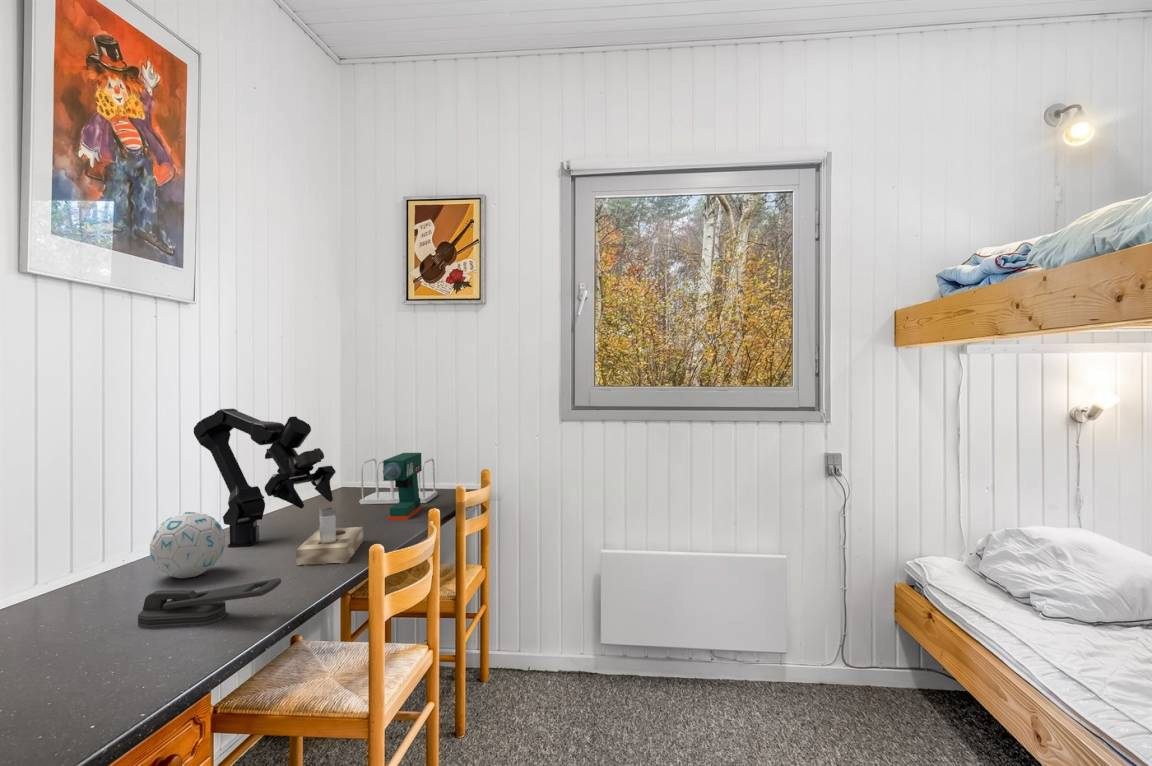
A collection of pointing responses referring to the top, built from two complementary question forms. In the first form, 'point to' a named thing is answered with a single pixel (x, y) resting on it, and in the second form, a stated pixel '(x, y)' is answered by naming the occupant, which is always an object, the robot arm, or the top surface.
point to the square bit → (327, 525)
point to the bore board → (330, 547)
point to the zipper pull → (196, 604)
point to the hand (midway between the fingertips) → (317, 504)
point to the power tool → (404, 483)
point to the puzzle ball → (187, 544)
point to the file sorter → (393, 496)
